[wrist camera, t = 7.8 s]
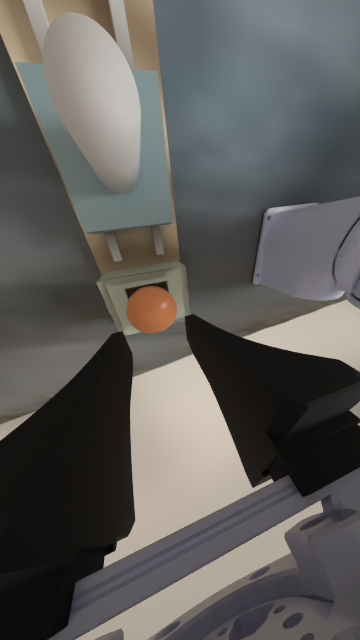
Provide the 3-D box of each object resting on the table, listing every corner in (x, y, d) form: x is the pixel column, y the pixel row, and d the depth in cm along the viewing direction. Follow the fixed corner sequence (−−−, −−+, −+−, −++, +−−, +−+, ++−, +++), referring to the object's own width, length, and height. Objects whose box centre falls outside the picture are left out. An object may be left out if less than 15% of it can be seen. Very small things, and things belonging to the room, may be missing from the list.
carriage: (168, 224, 14) (194, 212, 7) (94, 233, 13) (49, 228, 6) (152, 109, 10) (180, -127, 4) (45, 107, 9) (-199, -245, 2)
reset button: (171, 309, 17) (179, 326, 14) (135, 317, 16) (135, 338, 13) (165, 273, 15) (173, 283, 11) (123, 281, 14) (118, 294, 10)
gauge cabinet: (179, 303, 20) (190, 319, 16) (121, 316, 19) (116, 337, 15) (174, 259, 17) (186, 266, 13) (103, 271, 16) (91, 283, 11)
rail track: (183, 308, 21) (188, 316, 19) (123, 322, 19) (121, 332, 17) (117, -276, 6) (106, -589, 4) (-177, -414, 4) (-501, -1085, 2)
